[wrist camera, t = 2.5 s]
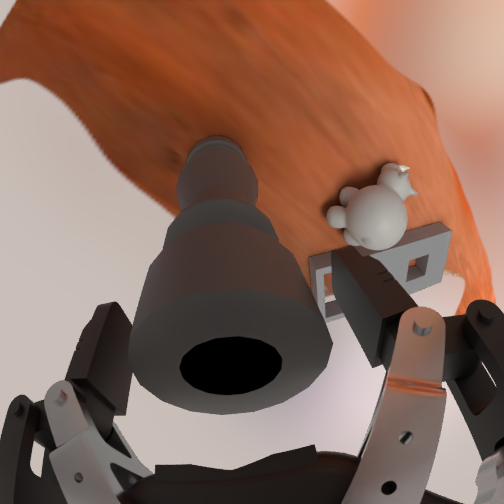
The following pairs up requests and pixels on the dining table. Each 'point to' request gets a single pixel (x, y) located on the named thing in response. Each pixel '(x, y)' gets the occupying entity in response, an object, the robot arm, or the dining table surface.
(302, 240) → the dining table surface
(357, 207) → the toy rhinoceros
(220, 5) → the dining table surface
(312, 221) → the dining table surface
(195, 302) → the candle holder
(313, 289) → the hole board
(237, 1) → the dining table surface
